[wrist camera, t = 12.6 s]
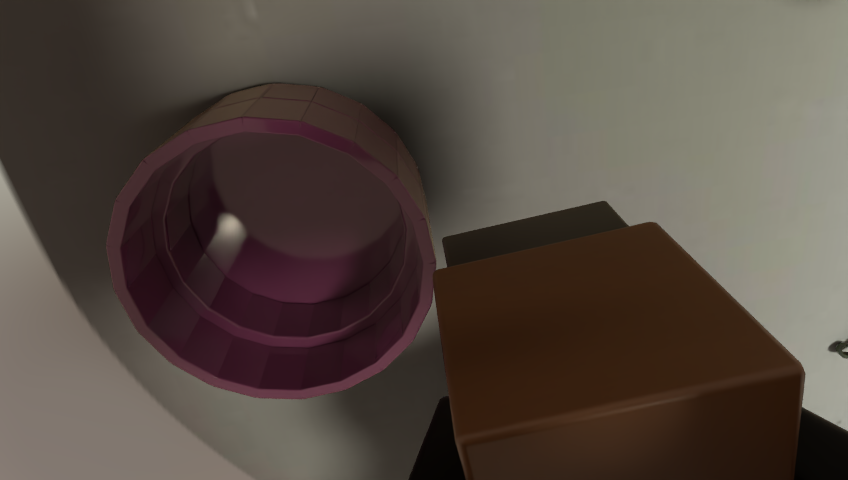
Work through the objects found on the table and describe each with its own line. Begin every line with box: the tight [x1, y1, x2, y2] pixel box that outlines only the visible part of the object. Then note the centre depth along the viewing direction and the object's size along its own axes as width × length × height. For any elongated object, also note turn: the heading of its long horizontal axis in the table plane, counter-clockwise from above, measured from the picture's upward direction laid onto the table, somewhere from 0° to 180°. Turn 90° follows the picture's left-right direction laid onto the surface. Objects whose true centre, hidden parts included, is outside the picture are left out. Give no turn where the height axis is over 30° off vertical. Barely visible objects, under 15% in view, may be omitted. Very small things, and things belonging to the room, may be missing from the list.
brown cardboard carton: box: [432, 201, 805, 480], centre depth 7 cm, size 5×3×4 cm, turn 13°
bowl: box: [106, 83, 436, 399], centre depth 18 cm, size 9×9×5 cm
